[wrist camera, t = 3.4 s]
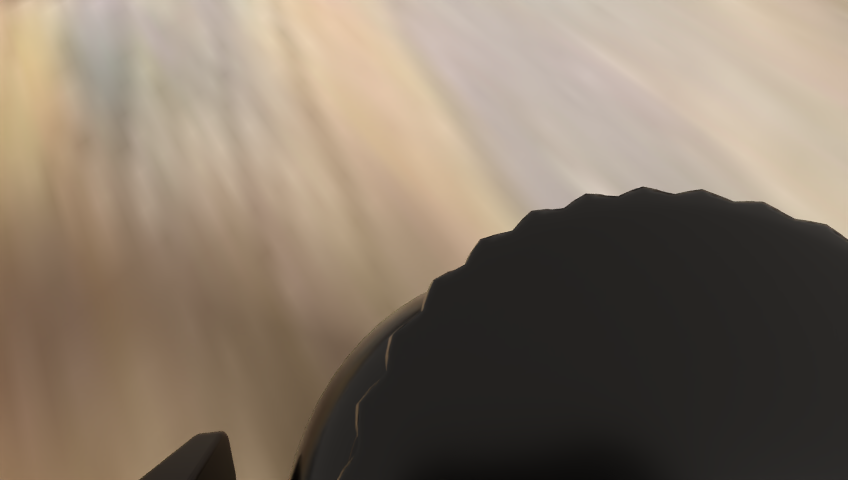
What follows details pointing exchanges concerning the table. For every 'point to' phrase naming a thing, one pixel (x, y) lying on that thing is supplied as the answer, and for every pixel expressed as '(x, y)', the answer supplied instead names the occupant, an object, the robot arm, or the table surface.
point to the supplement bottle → (607, 354)
